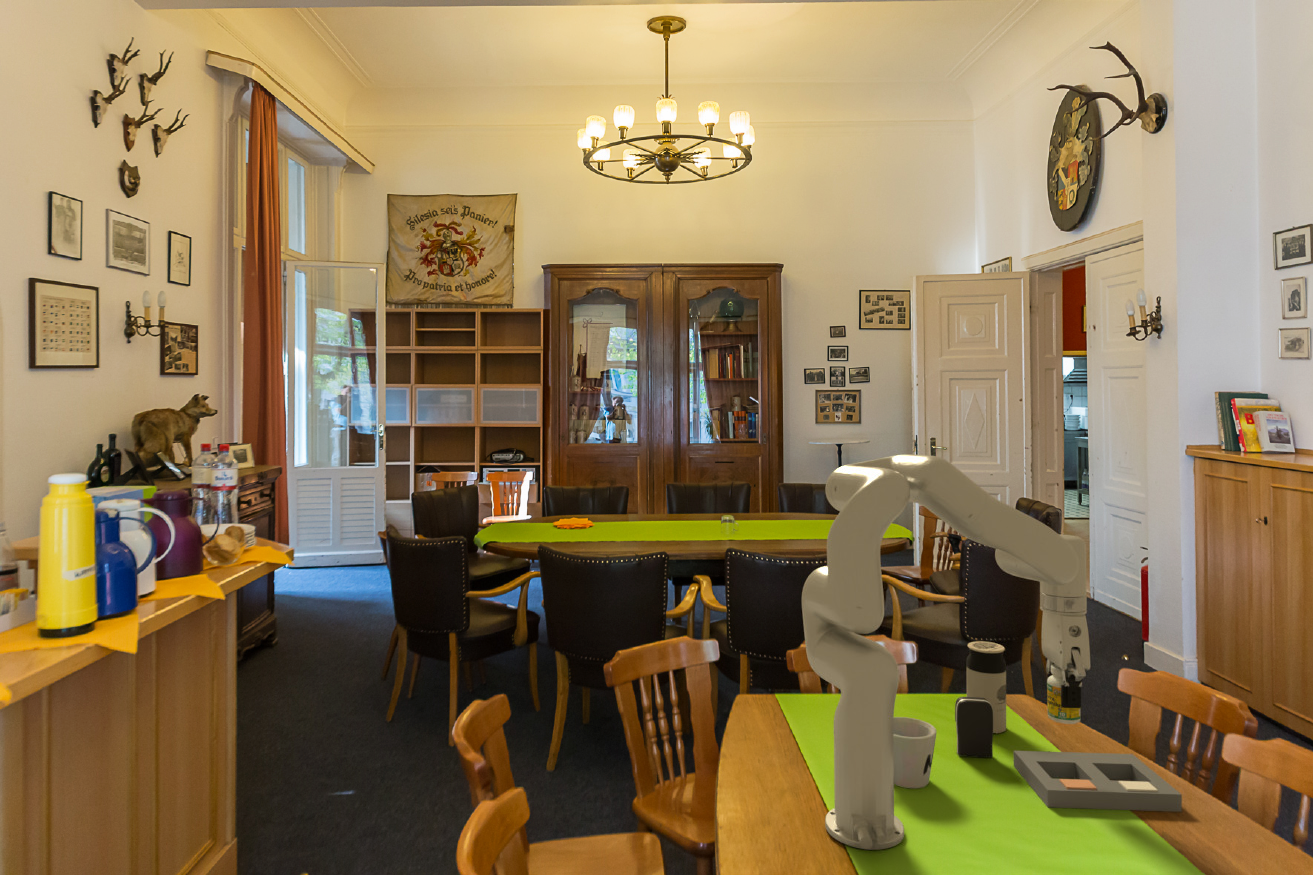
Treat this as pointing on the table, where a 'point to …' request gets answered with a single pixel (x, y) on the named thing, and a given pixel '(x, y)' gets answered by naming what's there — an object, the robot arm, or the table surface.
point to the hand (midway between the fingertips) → (1063, 700)
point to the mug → (912, 751)
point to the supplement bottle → (1059, 699)
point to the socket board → (1096, 781)
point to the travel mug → (988, 679)
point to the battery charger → (974, 727)
